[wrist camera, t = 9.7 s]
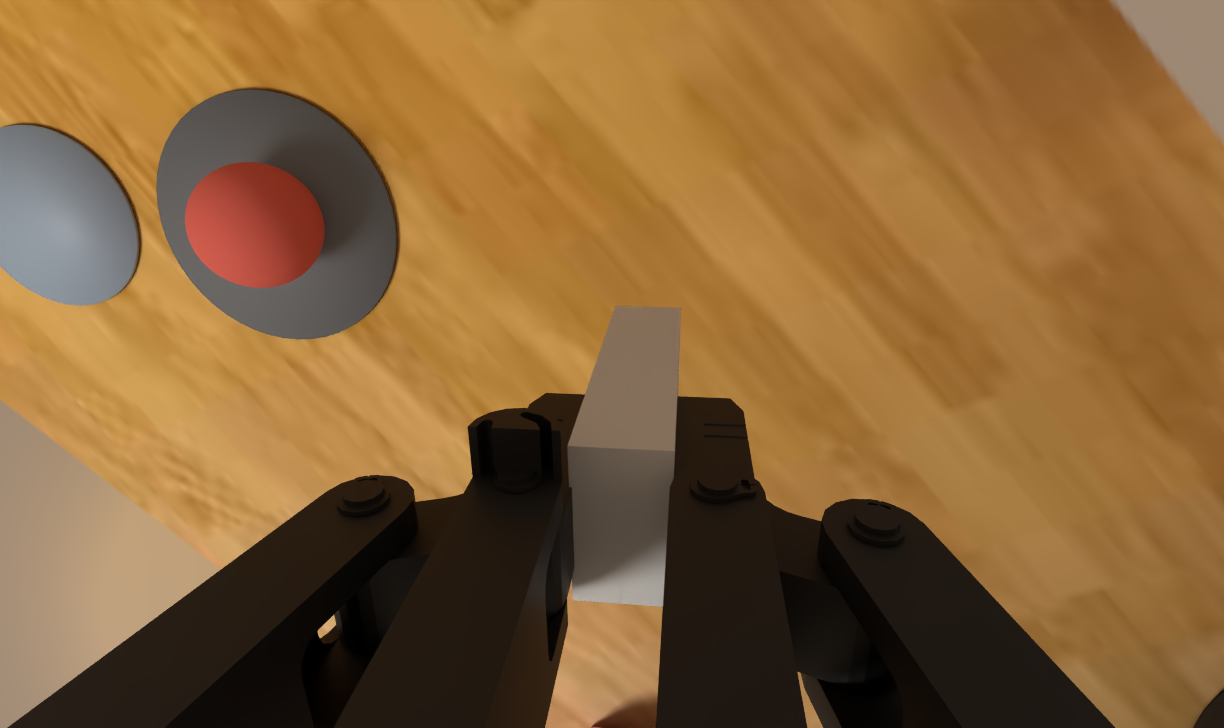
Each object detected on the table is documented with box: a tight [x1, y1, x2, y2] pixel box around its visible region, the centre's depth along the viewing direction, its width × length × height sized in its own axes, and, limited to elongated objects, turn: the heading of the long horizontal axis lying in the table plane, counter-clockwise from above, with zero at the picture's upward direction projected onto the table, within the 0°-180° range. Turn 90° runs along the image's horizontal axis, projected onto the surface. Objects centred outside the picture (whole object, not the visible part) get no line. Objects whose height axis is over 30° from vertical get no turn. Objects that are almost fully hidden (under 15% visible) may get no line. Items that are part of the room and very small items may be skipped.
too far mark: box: [0, 125, 140, 305], centre depth 34 cm, size 9×9×1 cm
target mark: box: [157, 89, 397, 339], centre depth 33 cm, size 12×12×1 cm
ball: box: [185, 162, 325, 288], centre depth 30 cm, size 6×6×6 cm
